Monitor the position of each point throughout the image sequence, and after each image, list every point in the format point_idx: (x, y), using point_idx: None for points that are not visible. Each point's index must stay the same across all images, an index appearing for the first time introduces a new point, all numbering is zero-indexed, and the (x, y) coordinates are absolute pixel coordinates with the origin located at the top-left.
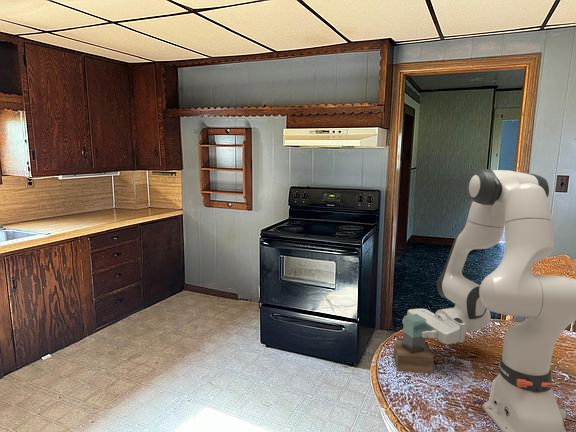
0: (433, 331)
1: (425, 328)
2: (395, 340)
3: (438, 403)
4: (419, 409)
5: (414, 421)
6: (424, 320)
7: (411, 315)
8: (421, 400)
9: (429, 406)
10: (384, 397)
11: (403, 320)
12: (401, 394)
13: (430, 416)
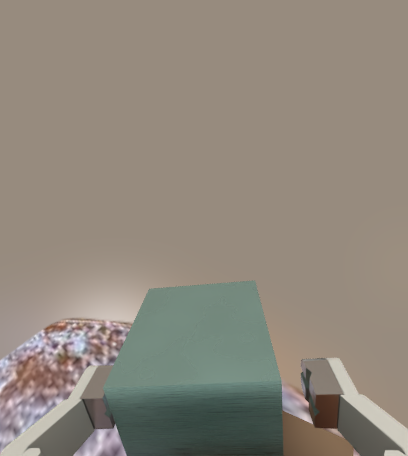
0: (18, 448)
1: (127, 450)
2: (345, 446)
3: (4, 428)
4: (49, 365)
5: (45, 338)
6: (114, 368)
7: (247, 318)
8: (57, 389)
9: (28, 393)
10: (130, 324)
11: (323, 359)
12: (111, 358)
13: (16, 373)
